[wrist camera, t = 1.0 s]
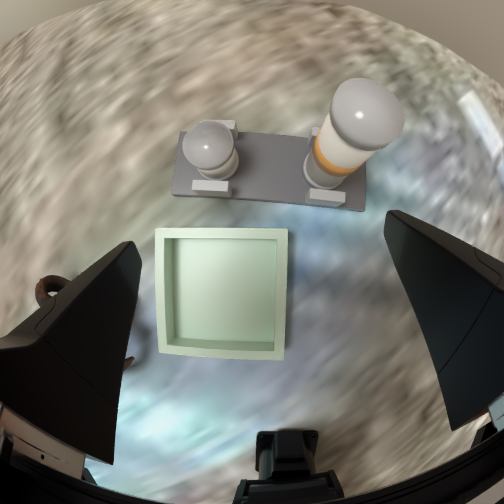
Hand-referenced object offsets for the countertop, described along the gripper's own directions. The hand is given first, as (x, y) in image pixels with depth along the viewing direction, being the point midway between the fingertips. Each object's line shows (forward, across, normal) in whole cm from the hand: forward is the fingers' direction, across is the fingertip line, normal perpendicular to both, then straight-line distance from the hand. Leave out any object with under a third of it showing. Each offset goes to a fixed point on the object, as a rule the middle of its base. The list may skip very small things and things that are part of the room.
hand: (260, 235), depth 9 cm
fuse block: (+16, -1, +4) cm, 16 cm away
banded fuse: (+14, -6, +4) cm, 16 cm away
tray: (+10, +4, +12) cm, 16 cm away
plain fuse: (+16, +3, +2) cm, 16 cm away
